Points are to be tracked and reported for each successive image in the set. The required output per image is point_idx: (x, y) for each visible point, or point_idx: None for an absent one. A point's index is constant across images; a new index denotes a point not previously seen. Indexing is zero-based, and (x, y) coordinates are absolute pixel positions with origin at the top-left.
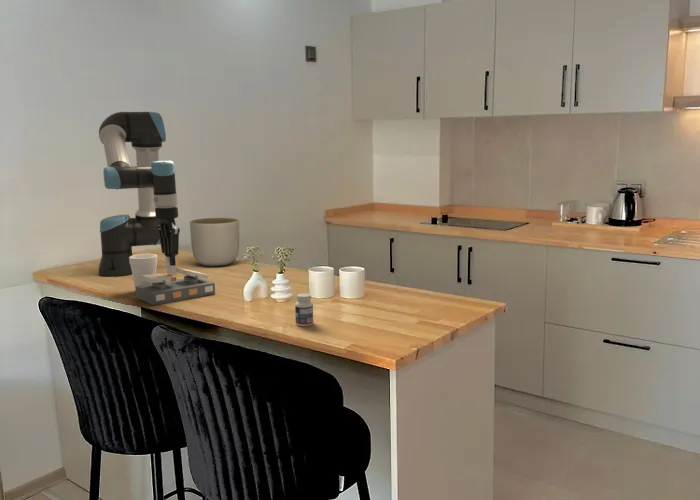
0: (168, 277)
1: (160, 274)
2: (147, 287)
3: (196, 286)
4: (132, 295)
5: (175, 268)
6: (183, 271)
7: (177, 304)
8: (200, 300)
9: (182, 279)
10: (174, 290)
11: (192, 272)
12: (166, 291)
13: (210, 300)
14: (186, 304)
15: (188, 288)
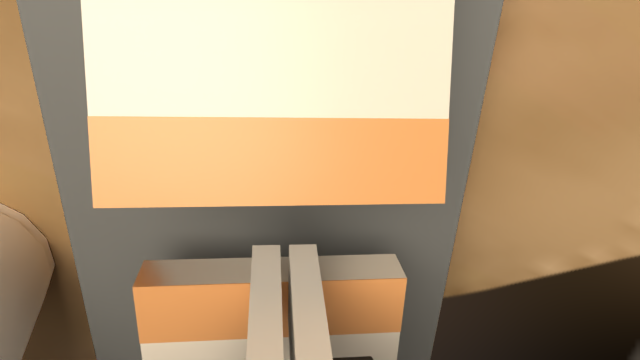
0: (392, 350)
1: (184, 356)
2: None
3: (489, 58)
4: (51, 348)
5: (323, 302)
6: (386, 200)
7: (502, 235)
8: (553, 68)
9: (63, 8)
10: (446, 262)
11: (446, 86)
12: (437, 319)
13: (624, 6)
14: (552, 194)
15: (469, 142)
